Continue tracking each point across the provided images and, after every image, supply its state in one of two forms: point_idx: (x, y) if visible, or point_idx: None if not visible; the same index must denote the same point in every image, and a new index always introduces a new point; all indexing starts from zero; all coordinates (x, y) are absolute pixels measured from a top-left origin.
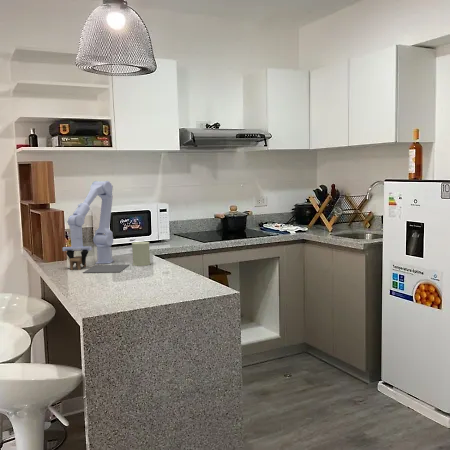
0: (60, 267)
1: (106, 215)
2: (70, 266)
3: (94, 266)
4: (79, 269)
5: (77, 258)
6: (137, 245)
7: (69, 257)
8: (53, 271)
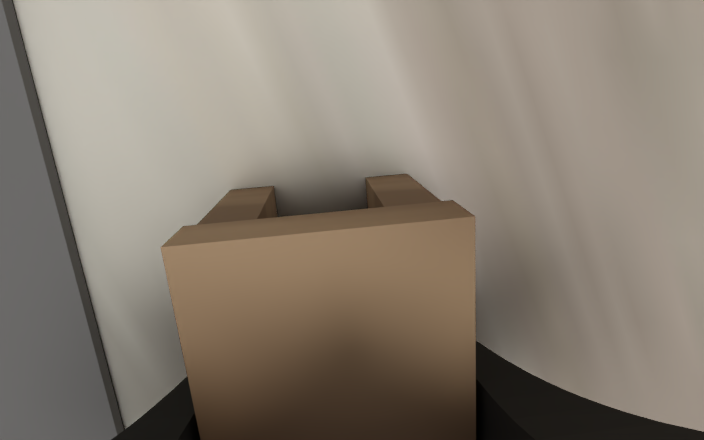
0: (648, 389)
1: None
2: (414, 187)
3: (88, 427)
4: (240, 190)
5: (269, 327)
6: None
7: (546, 390)
8: (667, 47)
